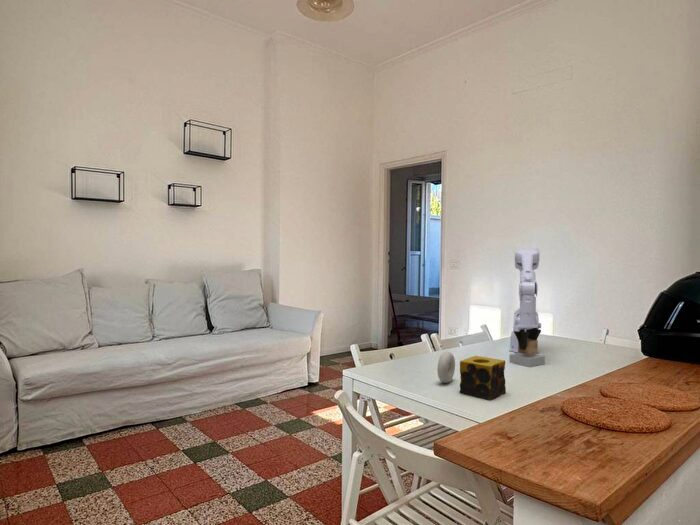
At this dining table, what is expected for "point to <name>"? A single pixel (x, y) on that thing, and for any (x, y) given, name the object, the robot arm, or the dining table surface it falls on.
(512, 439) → the dining table surface
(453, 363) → the donut
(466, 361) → the candle
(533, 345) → the block
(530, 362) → the base
